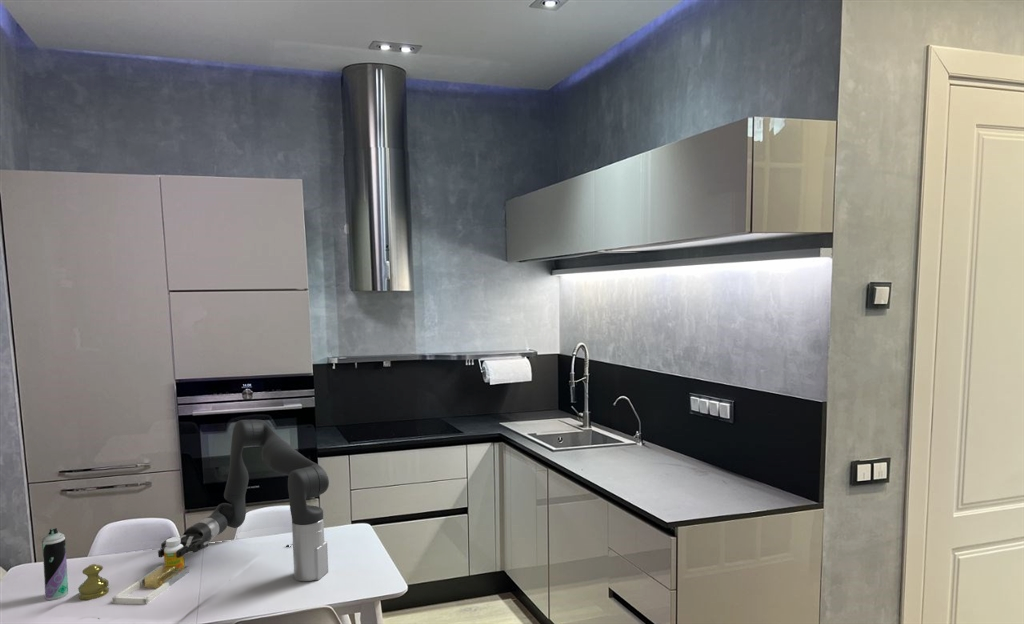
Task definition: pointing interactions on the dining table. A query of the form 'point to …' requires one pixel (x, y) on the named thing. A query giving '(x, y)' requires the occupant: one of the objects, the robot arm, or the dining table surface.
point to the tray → (123, 599)
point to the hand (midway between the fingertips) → (168, 554)
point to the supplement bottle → (173, 553)
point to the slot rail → (171, 579)
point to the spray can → (55, 565)
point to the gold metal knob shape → (93, 584)
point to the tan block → (155, 580)
